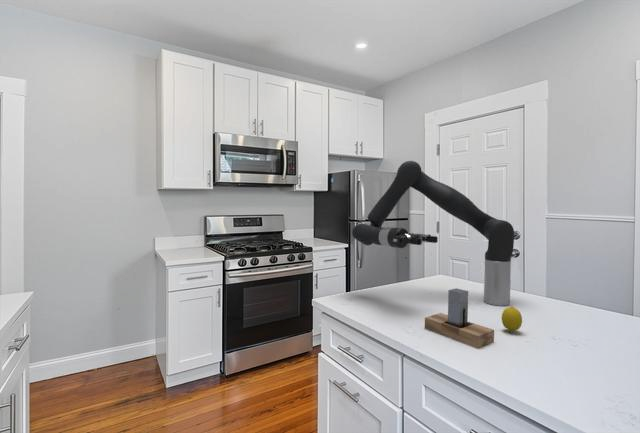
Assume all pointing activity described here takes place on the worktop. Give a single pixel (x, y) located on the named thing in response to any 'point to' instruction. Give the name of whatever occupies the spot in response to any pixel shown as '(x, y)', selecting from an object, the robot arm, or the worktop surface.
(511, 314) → the lemon
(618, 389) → the worktop surface
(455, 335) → the wooden slotted base
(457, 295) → the block
